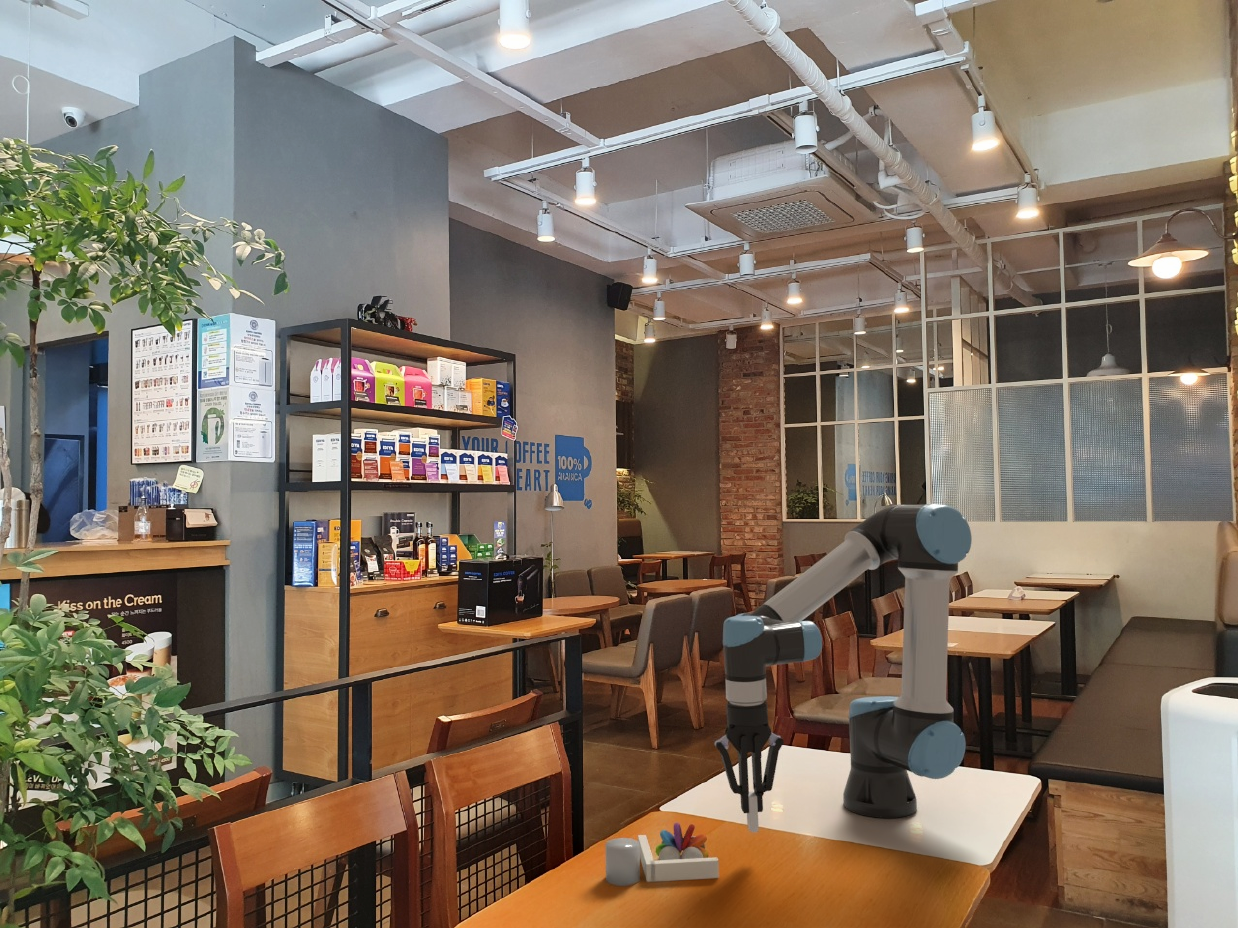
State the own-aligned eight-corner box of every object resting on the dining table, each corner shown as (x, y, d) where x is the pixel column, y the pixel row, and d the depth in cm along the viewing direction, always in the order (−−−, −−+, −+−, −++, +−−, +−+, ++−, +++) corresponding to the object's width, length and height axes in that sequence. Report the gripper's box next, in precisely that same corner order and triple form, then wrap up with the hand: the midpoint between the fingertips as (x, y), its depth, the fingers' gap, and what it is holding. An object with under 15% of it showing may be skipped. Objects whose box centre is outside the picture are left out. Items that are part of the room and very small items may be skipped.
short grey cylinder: (638, 870, 164) (637, 836, 165) (641, 884, 158) (641, 849, 159) (604, 872, 164) (604, 838, 164) (607, 886, 158) (606, 851, 158)
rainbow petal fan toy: (707, 873, 163) (706, 832, 163) (653, 871, 164) (652, 830, 164) (709, 855, 171) (708, 816, 171) (658, 853, 172) (657, 814, 173)
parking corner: (704, 847, 175) (704, 831, 175) (718, 877, 161) (718, 860, 161) (638, 851, 174) (637, 835, 174) (646, 881, 160) (646, 864, 160)
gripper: (775, 694, 174) (782, 819, 173) (708, 698, 173) (714, 825, 172) (786, 703, 166) (793, 834, 166) (715, 708, 165) (722, 840, 164)
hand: (753, 829), depth 169 cm, fingers closed
